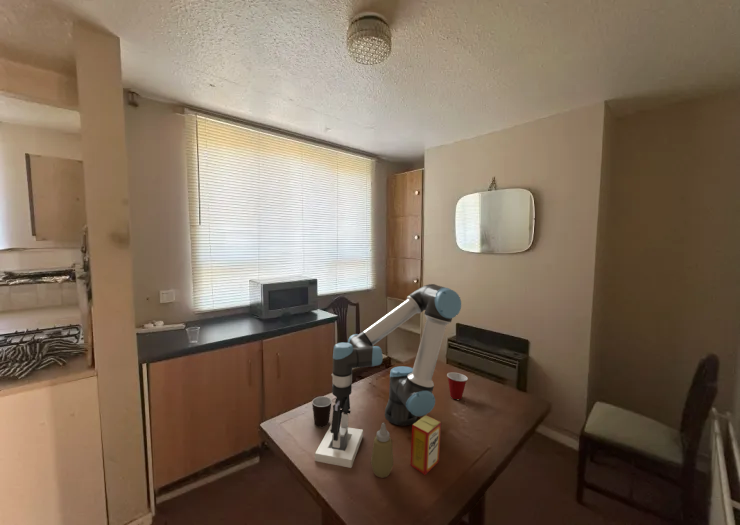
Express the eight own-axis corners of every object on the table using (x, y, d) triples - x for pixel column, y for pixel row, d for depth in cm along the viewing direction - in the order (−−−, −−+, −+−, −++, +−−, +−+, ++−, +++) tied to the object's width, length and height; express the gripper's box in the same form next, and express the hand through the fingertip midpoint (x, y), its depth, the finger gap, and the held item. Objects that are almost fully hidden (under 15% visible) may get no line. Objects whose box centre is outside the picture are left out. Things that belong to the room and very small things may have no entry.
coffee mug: (327, 430, 130) (328, 408, 130) (308, 427, 132) (309, 405, 131) (335, 415, 142) (336, 394, 141) (318, 412, 143) (318, 392, 143)
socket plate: (362, 436, 127) (362, 427, 127) (351, 467, 109) (351, 458, 109) (330, 431, 130) (331, 422, 129) (314, 460, 112) (315, 451, 112)
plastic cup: (470, 397, 162) (471, 376, 161) (460, 405, 154) (461, 382, 153) (452, 390, 169) (453, 369, 168) (441, 396, 162) (442, 375, 161)
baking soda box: (425, 475, 107) (427, 432, 106) (410, 465, 112) (412, 423, 110) (439, 461, 114) (441, 420, 113) (424, 452, 119) (426, 413, 117)
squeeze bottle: (369, 463, 112) (371, 417, 110) (391, 462, 112) (393, 416, 111) (371, 481, 104) (373, 431, 102) (394, 480, 104) (396, 430, 103)
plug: (347, 444, 121) (348, 428, 121) (344, 452, 117) (344, 435, 116) (335, 442, 122) (336, 426, 122) (331, 450, 118) (332, 433, 117)
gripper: (341, 370, 129) (340, 419, 131) (322, 396, 107) (321, 456, 109) (358, 372, 128) (356, 422, 130) (342, 399, 106) (341, 459, 107)
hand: (340, 437), depth 119 cm, fingers open, 10 cm apart
